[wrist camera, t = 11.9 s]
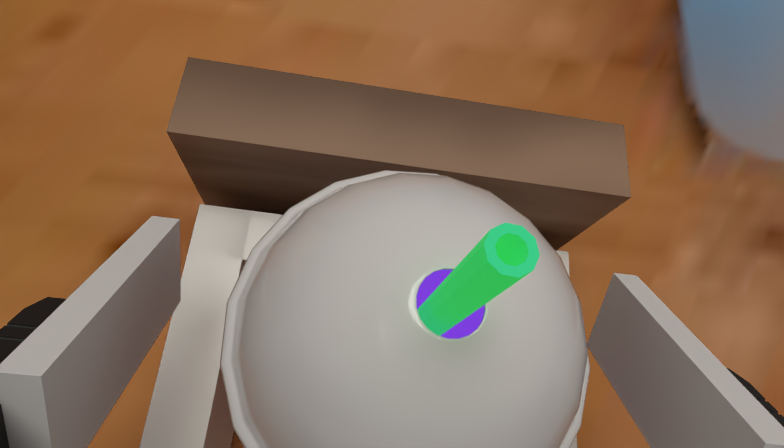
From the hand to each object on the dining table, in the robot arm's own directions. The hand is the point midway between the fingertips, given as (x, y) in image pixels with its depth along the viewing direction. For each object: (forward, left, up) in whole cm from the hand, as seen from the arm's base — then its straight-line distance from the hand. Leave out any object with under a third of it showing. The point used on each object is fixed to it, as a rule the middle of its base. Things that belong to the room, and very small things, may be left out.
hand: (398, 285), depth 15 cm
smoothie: (-1, -2, -10) cm, 11 cm away
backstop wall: (+2, +5, -10) cm, 12 cm away
